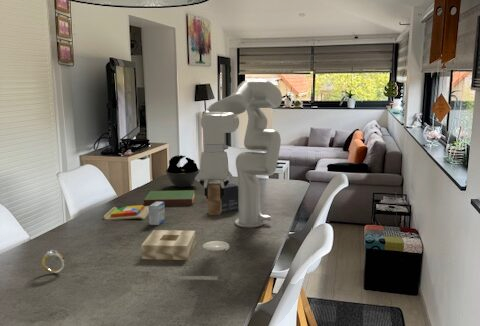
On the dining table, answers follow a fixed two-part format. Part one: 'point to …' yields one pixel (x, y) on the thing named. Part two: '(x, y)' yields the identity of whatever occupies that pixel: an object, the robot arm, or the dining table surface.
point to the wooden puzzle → (127, 212)
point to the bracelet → (53, 252)
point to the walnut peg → (214, 198)
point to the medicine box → (156, 213)
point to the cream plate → (216, 246)
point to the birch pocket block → (168, 245)
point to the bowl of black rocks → (182, 172)
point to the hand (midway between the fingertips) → (214, 197)
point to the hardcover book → (170, 197)
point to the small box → (230, 198)
